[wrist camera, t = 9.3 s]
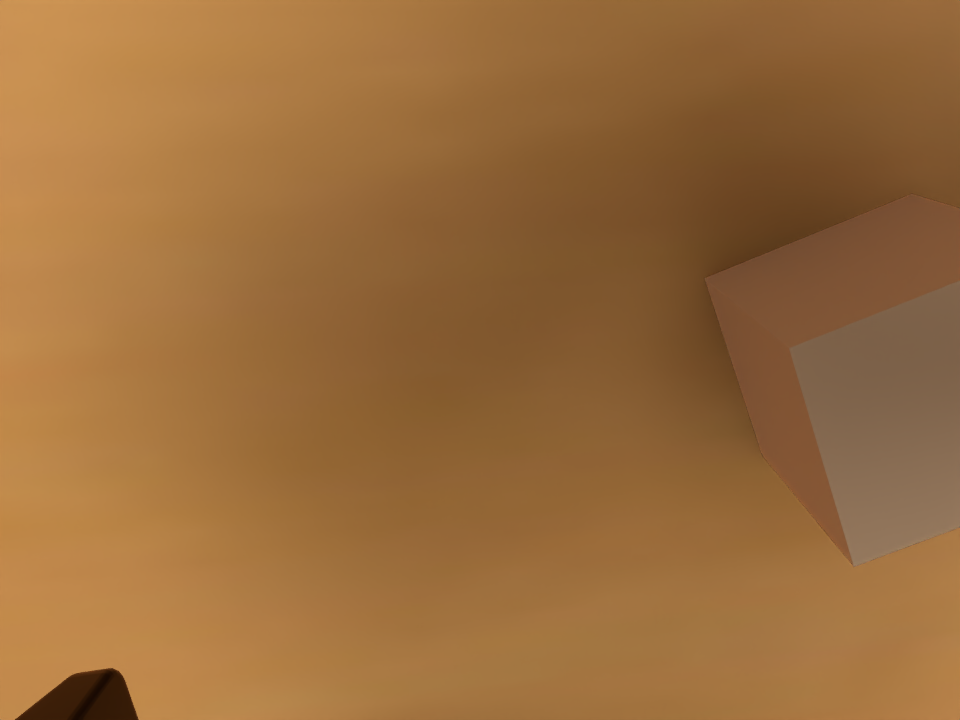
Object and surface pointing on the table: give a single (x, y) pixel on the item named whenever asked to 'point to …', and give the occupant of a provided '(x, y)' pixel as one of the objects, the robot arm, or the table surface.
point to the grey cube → (856, 371)
